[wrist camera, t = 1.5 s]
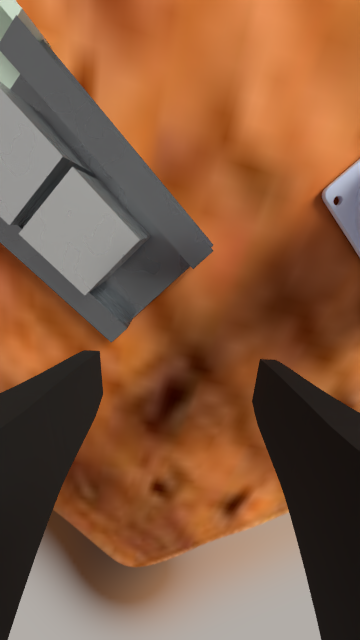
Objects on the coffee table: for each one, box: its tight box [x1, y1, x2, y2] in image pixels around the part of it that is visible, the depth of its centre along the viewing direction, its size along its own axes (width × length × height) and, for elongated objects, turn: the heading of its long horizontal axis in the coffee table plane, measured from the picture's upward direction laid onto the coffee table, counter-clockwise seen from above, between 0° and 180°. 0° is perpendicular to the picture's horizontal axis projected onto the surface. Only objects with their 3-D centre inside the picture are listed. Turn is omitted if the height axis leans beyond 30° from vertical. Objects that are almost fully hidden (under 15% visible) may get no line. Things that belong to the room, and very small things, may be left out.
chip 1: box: [0, 82, 95, 225], centre depth 12 cm, size 4×4×4 cm
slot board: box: [0, 15, 213, 342], centre depth 14 cm, size 13×9×3 cm
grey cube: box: [19, 167, 150, 295], centre depth 13 cm, size 4×4×4 cm
